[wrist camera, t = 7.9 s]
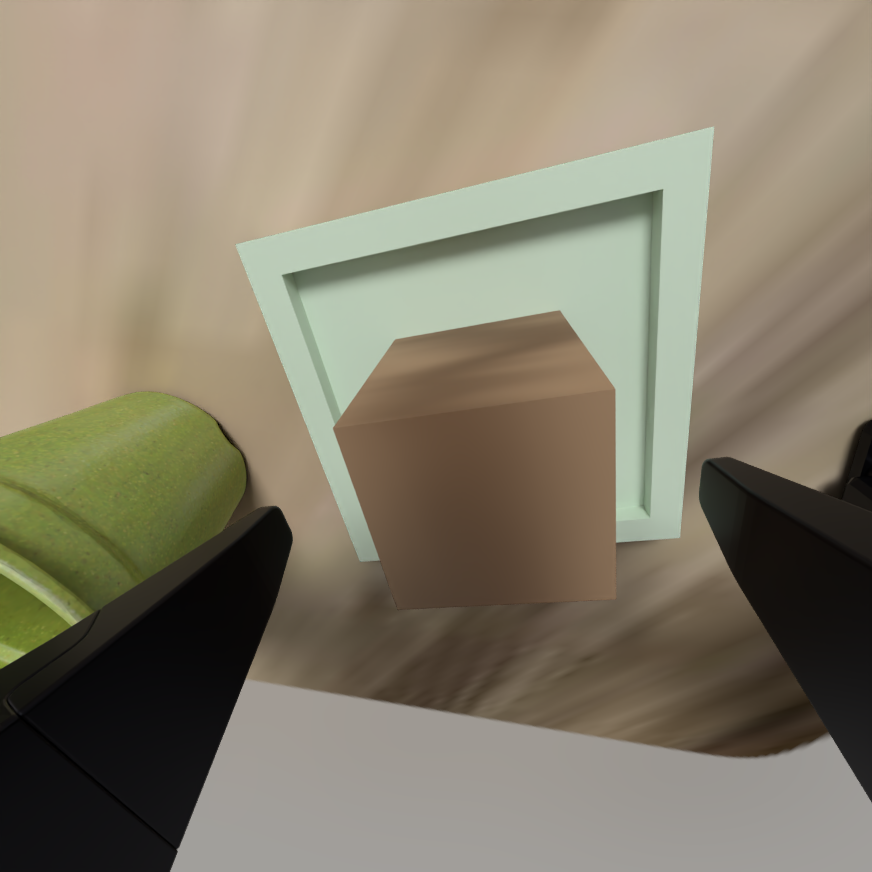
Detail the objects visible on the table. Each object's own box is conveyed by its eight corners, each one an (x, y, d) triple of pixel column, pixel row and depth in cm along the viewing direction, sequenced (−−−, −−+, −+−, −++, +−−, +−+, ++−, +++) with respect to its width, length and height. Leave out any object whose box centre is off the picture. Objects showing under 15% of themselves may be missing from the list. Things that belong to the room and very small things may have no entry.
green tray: (685, 136, 10) (714, 126, 9) (663, 510, 16) (679, 538, 15) (261, 240, 13) (235, 244, 11) (369, 536, 18) (359, 561, 17)
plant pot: (277, 565, 20) (147, 786, 12) (81, 508, 19) (-179, 700, 12) (301, 394, 15) (118, 579, 8) (45, 314, 15) (-417, 426, 7)
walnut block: (559, 310, 12) (615, 389, 7) (569, 456, 14) (616, 599, 9) (395, 339, 13) (332, 428, 8) (428, 471, 15) (397, 609, 10)
